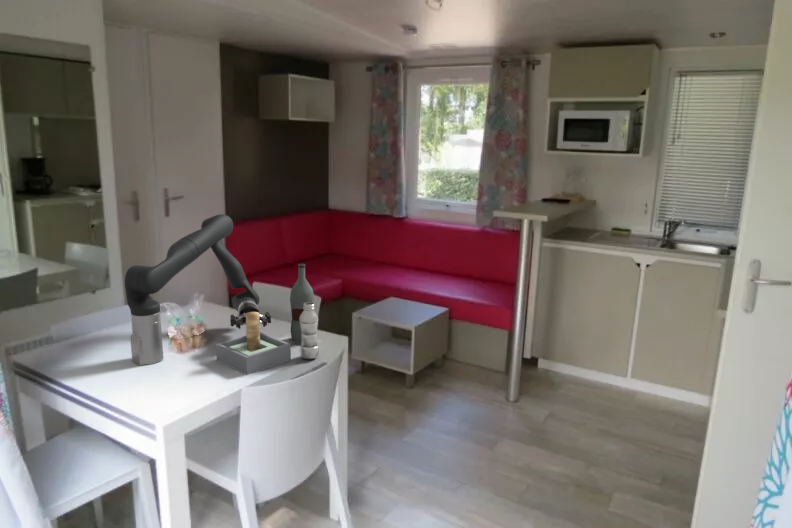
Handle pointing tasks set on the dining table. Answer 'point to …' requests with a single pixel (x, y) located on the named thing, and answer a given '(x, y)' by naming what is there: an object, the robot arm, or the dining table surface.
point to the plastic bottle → (309, 332)
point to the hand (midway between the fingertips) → (252, 325)
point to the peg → (253, 331)
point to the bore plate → (243, 350)
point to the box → (256, 360)
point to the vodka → (299, 302)
